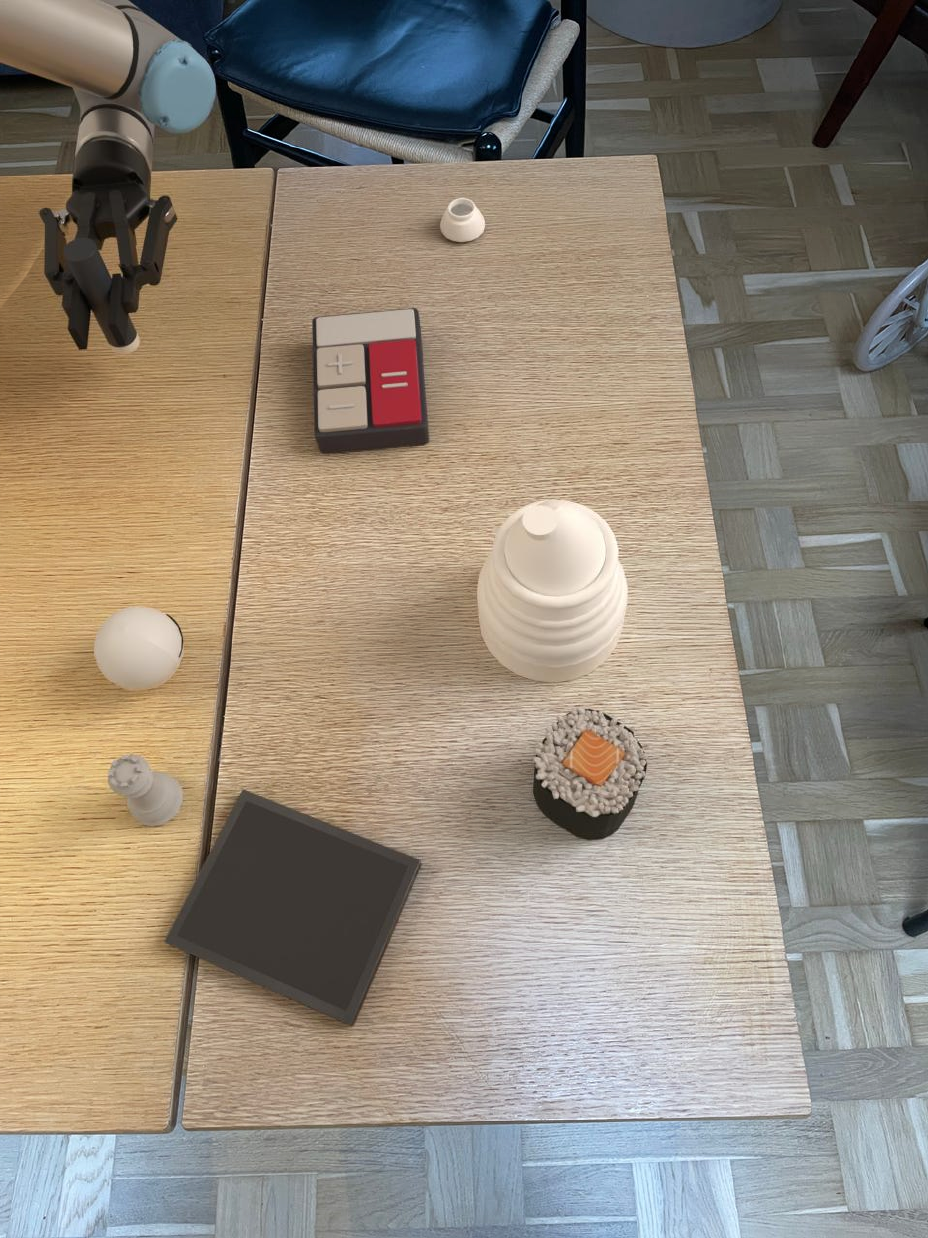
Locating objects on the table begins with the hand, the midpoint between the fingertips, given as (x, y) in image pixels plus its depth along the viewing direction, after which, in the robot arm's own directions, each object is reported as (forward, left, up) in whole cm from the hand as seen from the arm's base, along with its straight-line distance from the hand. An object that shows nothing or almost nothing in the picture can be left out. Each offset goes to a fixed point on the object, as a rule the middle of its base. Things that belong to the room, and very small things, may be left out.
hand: (97, 336), depth 91 cm
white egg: (+15, -23, -11) cm, 30 cm away
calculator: (+22, +11, -11) cm, 27 cm away
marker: (-3, +5, -7) cm, 9 cm away
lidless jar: (+21, +36, -11) cm, 43 cm away
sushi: (+55, -21, -11) cm, 60 cm away
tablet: (+37, -38, -11) cm, 55 cm away
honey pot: (+47, -7, -11) cm, 49 cm away
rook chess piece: (+23, -35, -11) cm, 43 cm away
